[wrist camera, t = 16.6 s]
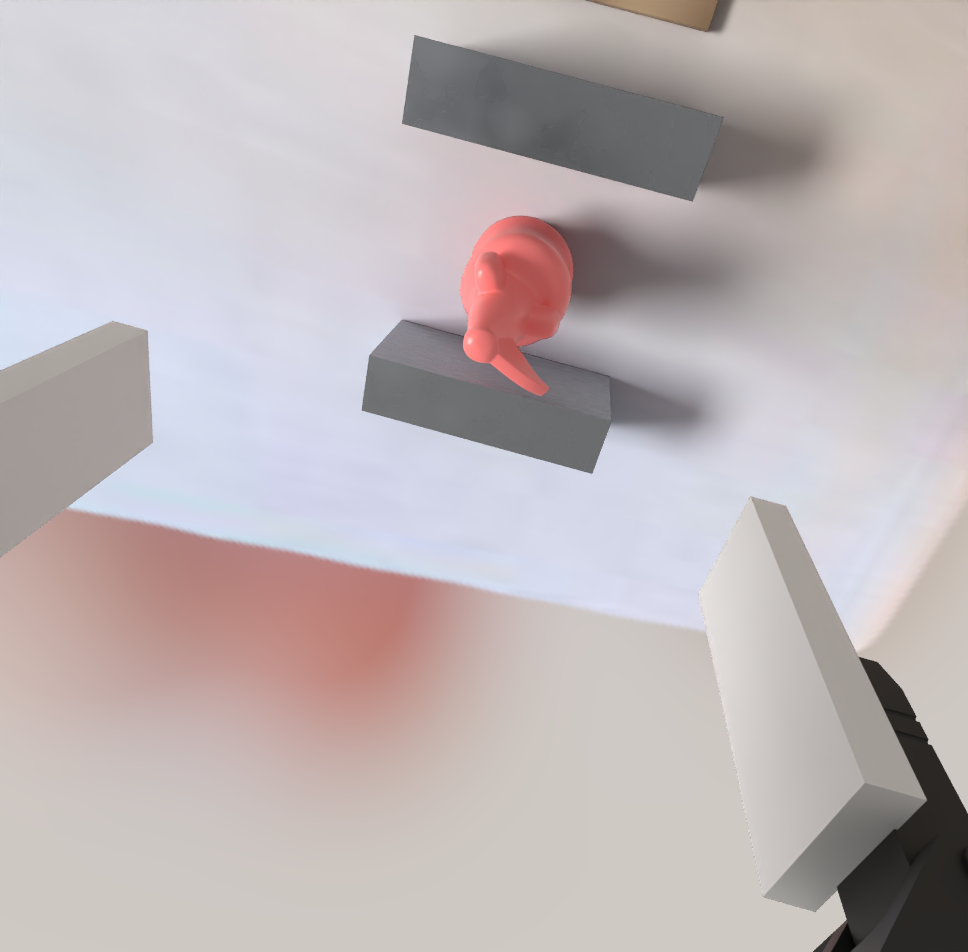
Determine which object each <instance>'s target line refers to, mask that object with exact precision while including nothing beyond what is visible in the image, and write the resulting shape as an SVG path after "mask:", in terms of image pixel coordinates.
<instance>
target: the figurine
mask: <svg viewBox="0 0 968 952" xmlns="http://www.w3.org/2000/svg"><path fill="white" fill-rule="evenodd" d="M572 280H573V261H572V256H571V252H570V250H569V247H568V245H567V244H566V242H565V240H564V239H563V237H562V236H561V235H560V234H559V233H558V232H557V231H556V230H555V229H554V228H553V227H552V226H550V225H549V224H547V223H546V222H544V221H542V220H540V219H537V218H534V217H529V216H512V217H508V218H505V219H502V220H500V221H498V222H496V223H494V224H493V225H492V226H490V227H489V228H488V229H487V230H486V231H485V232H484V233H483V234H482V235H481V237H480V238H479V240H478V241H477V243H476V245H475V247H474V250H473V253H472V257H471V258H470V260H469V262H468V264H467V266H466V268H465V270H464V273H463V276H462V280H461V288H460V292H461V299H462V303H463V306H464V308H465V311H466V313H467V314H468V316H469V317H468V325H467V332H466V333H465V336H464V340H463V348H464V351H465V353H466V355H467V356H468V357H469V358H470V359H472V360H474V361H476V362H479V363H490V364H492V365H493V366H494V367H495V368H496V369H498V370H499V371H500V372H501V373H503V374H504V375H505V376H507V377H508V378H509V379H511V380H512V381H513V382H515V383H516V384H518V385H519V386H521V387H522V388H524V389H526V390H527V391H529V392H531V393H534V394H536V395H539V396H542V395H544V394H545V393H546V392H547V391H548V390H549V387H548V386H547V384H546V383H545V382H544V381H542V380H541V379H540V378H539V376H538V375H537V374H536V373H535V371H534V370H533V369H532V367H531V366H530V364H529V363H528V361H527V360H526V358H525V357H524V356H523V354H522V353H521V351H520V349H519V348H518V347H520V346H526V345H530V344H533V343H535V342H537V341H539V340H541V339H547V338H550V337H552V336H553V335H554V334H555V333H556V332H557V330H558V328H559V325H560V321H561V320H562V318H563V316H564V315H565V313H566V310H567V308H568V305H569V302H570V298H571V292H572Z"/></svg>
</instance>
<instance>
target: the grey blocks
mask: <svg viewBox="0 0 968 952" xmlns="http://www.w3.org/2000/svg"><path fill="white" fill-rule="evenodd" d="M723 118H724V117H721V116H717V115H713V114H709V113H706V112H702V111H698V110H694V109H690V108H687V107H683V106H679V105H675V104H672V103H668V102H664V101H660V100H657V99H653V98H649V97H645V96H642V95H638V94H634V93H630V92H627V91H623V90H619V89H615V88H612V87H608V86H604V85H600V84H596V83H593V82H589V81H585V80H581V79H578V78H574V77H570V76H566V75H563V74H559V73H555V72H551V71H548V70H544V69H540V68H536V67H533V66H529V65H525V64H521V63H518V62H514V61H510V60H506V59H503V58H499V57H495V56H491V55H487V54H484V53H480V52H476V51H472V50H469V49H465V48H461V47H457V46H454V45H450V44H446V43H442V42H439V41H435V40H431V39H427V38H424V37H420V36H416V35H415V36H414V43H413V50H412V57H411V64H410V71H409V78H408V85H407V92H406V100H405V107H404V114H403V121H402V124H405V125H409V126H413V127H417V128H420V129H424V130H428V131H432V132H435V133H439V134H443V135H447V136H450V137H454V138H458V139H461V140H465V141H469V142H473V143H476V144H480V145H484V146H488V147H491V148H495V149H499V150H502V151H506V152H510V153H514V154H517V155H521V156H525V157H529V158H532V159H536V160H540V161H543V162H547V163H551V164H555V165H558V166H562V167H566V168H570V169H573V170H577V171H581V172H584V173H588V174H592V175H596V176H599V177H603V178H607V179H611V180H614V181H618V182H622V183H625V184H629V185H633V186H637V187H640V188H644V189H648V190H652V191H655V192H659V193H663V194H666V195H670V196H674V197H678V198H681V199H685V200H689V201H693V199H694V196H695V194H696V191H697V188H698V186H699V183H700V180H701V177H702V175H703V172H704V169H705V167H706V164H707V161H708V159H709V156H710V153H711V150H712V148H713V145H714V142H715V140H716V137H717V134H718V131H719V129H720V126H721V123H722V121H723ZM463 340H464V337H463V336H459V335H455V334H452V333H448V332H444V331H441V330H437V329H433V328H430V327H426V326H422V325H419V324H415V323H411V322H408V321H404V320H401V321H400V322H399V323H398V325H397V326H396V327H395V328H394V329H393V330H392V331H391V332H390V333H389V334H388V335H387V337H386V338H385V339H384V340H383V341H382V342H381V343H380V344H379V345H378V346H377V347H376V349H375V350H374V351H373V352H372V353H371V354H370V355H369V362H368V369H367V376H366V383H365V390H364V397H363V405H362V411H366V412H370V413H373V414H377V415H380V416H384V417H388V418H391V419H395V420H399V421H402V422H406V423H410V424H413V425H417V426H420V427H424V428H428V429H431V430H435V431H439V432H442V433H446V434H450V435H453V436H457V437H460V438H464V439H468V440H471V441H475V442H479V443H482V444H486V445H489V446H493V447H497V448H500V449H504V450H508V451H511V452H515V453H519V454H522V455H526V456H529V457H533V458H537V459H540V460H544V461H548V462H551V463H555V464H558V465H562V466H566V467H569V468H573V469H577V470H580V471H584V472H588V473H591V474H592V473H593V470H594V467H595V465H596V462H597V459H598V456H599V454H600V451H601V448H602V446H603V443H604V440H605V438H606V435H607V432H608V429H609V427H610V424H611V403H610V384H609V376H606V375H602V374H598V373H595V372H591V371H587V370H584V369H580V368H576V367H573V366H569V365H565V364H562V363H558V362H554V361H551V360H547V359H543V358H540V357H536V356H532V355H529V354H525V353H522V354H523V356H524V357H525V358H526V360H527V361H528V363H529V364H530V366H531V367H532V369H533V370H534V371H535V373H536V374H537V375H538V376H539V378H540V379H541V380H542V381H544V382H545V383H546V384H547V386H548V387H549V390H548V391H547V392H546V393H545V394H544V395H542V396H539V395H536V394H534V393H531V392H529V391H527V390H526V389H524V388H522V387H521V386H519V385H518V384H516V383H515V382H513V381H512V380H511V379H509V378H508V377H507V376H505V375H504V374H503V373H501V372H500V371H499V370H498V369H496V368H495V367H494V366H493V365H492V364H490V363H479V362H476V361H474V360H472V359H470V358H469V357H468V356H467V355H466V353H465V351H464V348H463Z"/></svg>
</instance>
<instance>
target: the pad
mask: <svg viewBox="0 0 968 952" xmlns="http://www.w3.org/2000/svg"><path fill="white" fill-rule="evenodd" d="M587 1H591V2H595V3H598V4H602V5H606V6H610V7H613V8H617V9H621V10H625V11H629V12H632V13H636V14H640V15H644V16H648V17H651V18H655V19H659V20H663V21H666V22H670V23H674V24H678V25H682V26H685V27H689V28H693V29H697V30H701V31H704V32H707V31H708V29H709V26H710V23H711V20H712V17H713V14H714V11H715V8H716V5H717V3H718V0H587Z"/></svg>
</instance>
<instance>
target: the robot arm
mask: <svg viewBox="0 0 968 952" xmlns="http://www.w3.org/2000/svg"><path fill="white" fill-rule="evenodd" d="M152 443H153V435H152V414H151V393H150V372H149V351H148V331H147V330H143V329H140V328H136V327H133V326H129V325H125V324H122V323H118V322H114V321H112V322H110V323H107V324H105V325H103V326H101V327H98V328H96V329H94V330H92V331H89V332H87V333H85V334H82V335H80V336H78V337H76V338H73V339H71V340H69V341H66V342H64V343H62V344H60V345H57V346H55V347H53V348H51V349H48V350H46V351H44V352H41V353H39V354H37V355H35V356H32V357H30V358H28V359H26V360H23V361H21V362H19V363H16V364H14V365H12V366H10V367H7V368H5V369H3V370H1V371H0V557H2V556H3V555H4V554H5V553H7V552H8V551H10V550H11V549H12V548H14V547H15V546H16V545H18V544H19V543H20V542H22V541H23V540H24V539H26V538H27V537H28V536H29V535H31V534H32V533H33V532H35V531H36V530H37V529H39V528H40V527H41V526H43V525H44V524H45V523H47V522H48V521H49V520H51V519H52V518H53V517H55V516H56V515H57V514H59V513H60V512H61V511H63V510H64V509H65V508H67V507H68V506H69V505H71V504H72V503H73V502H75V501H76V500H77V499H79V498H80V497H81V496H83V495H84V494H85V493H87V492H88V491H89V490H91V489H92V488H93V487H95V486H96V485H97V484H98V483H100V482H101V481H102V480H104V479H105V478H106V477H108V476H109V475H110V474H112V473H113V472H114V471H116V470H117V469H118V468H120V467H121V466H122V465H124V464H125V463H126V462H128V461H129V460H130V459H132V458H133V457H134V456H136V455H137V454H138V453H140V452H141V451H142V450H144V449H145V448H146V447H148V446H149V445H150V444H152ZM699 599H700V604H701V608H702V613H703V618H704V622H705V627H706V632H707V637H708V641H709V646H710V650H711V655H712V660H713V665H714V669H715V674H716V679H717V684H718V688H719V693H720V698H721V702H722V707H723V712H724V717H725V721H726V726H727V731H728V735H729V740H730V744H731V749H732V754H733V758H734V764H735V768H736V773H737V778H738V782H739V787H740V792H741V796H742V801H743V806H744V810H745V815H746V820H747V825H748V829H749V834H750V839H751V843H752V848H753V853H754V857H755V862H756V867H757V872H758V876H759V881H760V886H761V890H762V895H763V897H764V898H768V899H771V900H775V901H778V902H782V903H786V904H789V905H792V906H796V907H800V908H803V909H807V910H810V911H814V912H816V911H817V910H818V909H819V908H820V907H821V906H822V905H823V904H824V903H825V902H826V901H827V900H828V899H829V898H830V897H831V896H832V895H833V894H834V893H835V892H836V891H837V890H838V893H839V896H840V899H841V902H842V906H843V909H844V912H845V915H846V918H847V920H846V921H845V922H844V923H843V924H842V925H841V926H840V927H839V928H838V929H837V930H836V931H835V932H833V934H831V935H830V936H829V937H828V938H827V939H826V940H825V941H824V942H823V943H822V944H821V945H820V946H819V947H817V948H816V949H815V950H814V951H813V952H968V813H967V811H966V809H965V808H964V806H963V804H962V802H961V800H960V798H959V796H958V794H957V792H956V791H955V789H954V787H953V785H952V783H951V781H950V779H949V777H948V775H947V773H946V772H945V770H944V768H943V766H942V764H941V762H940V760H939V758H938V757H937V755H936V753H935V751H934V749H933V747H932V745H929V744H928V738H927V736H926V734H925V732H924V730H923V728H922V726H921V724H920V722H917V721H916V715H915V713H914V711H913V709H912V707H911V705H910V703H909V702H908V700H907V698H906V696H905V694H904V692H903V690H902V689H901V688H900V686H898V684H897V683H896V682H895V681H894V680H893V679H892V678H891V677H890V675H889V674H888V673H887V672H886V671H885V670H884V669H883V668H882V667H881V665H880V664H879V663H877V662H875V661H872V660H868V659H864V658H861V657H858V655H857V653H856V651H855V649H854V647H853V645H852V643H851V641H850V638H849V636H848V634H847V632H846V630H845V628H844V626H843V624H842V622H841V620H840V618H839V616H838V613H837V611H836V609H835V607H834V605H833V603H832V601H831V599H830V597H829V595H828V593H827V591H826V588H825V586H824V584H823V582H822V580H821V578H820V576H819V574H818V572H817V570H816V568H815V566H814V563H813V561H812V559H811V557H810V555H809V553H808V551H807V549H806V547H805V545H804V543H803V541H802V538H801V536H800V534H799V532H798V530H797V528H796V526H795V524H794V522H793V520H792V518H791V516H790V513H789V511H788V509H787V507H786V506H784V505H780V504H776V503H773V502H769V501H766V500H762V499H758V498H755V497H751V496H750V498H749V500H748V502H747V503H746V505H745V507H744V509H743V511H742V513H741V515H740V517H739V519H738V520H737V522H736V524H735V526H734V528H733V530H732V532H731V534H730V535H729V537H728V539H727V541H726V543H725V545H724V547H723V549H722V551H721V552H720V554H719V556H718V558H717V560H716V562H715V564H714V566H713V567H712V569H711V571H710V573H709V575H708V577H707V579H706V581H705V583H704V584H703V586H702V588H701V590H700V592H699Z"/></svg>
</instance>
